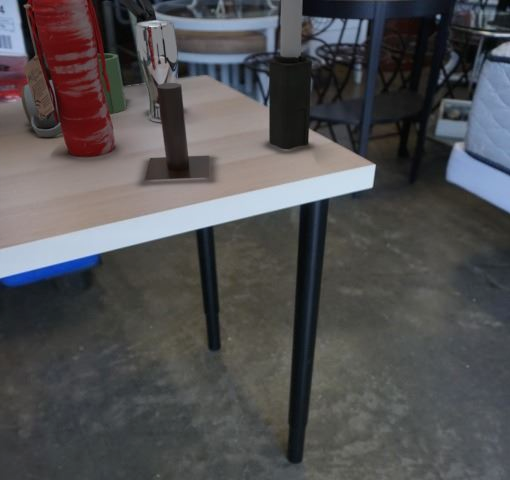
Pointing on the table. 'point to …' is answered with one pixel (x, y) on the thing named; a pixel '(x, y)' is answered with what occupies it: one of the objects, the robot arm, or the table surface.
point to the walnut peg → (175, 141)
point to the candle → (290, 83)
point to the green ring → (113, 83)
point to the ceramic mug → (34, 118)
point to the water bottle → (70, 73)
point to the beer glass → (157, 58)
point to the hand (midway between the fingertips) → (107, 53)
